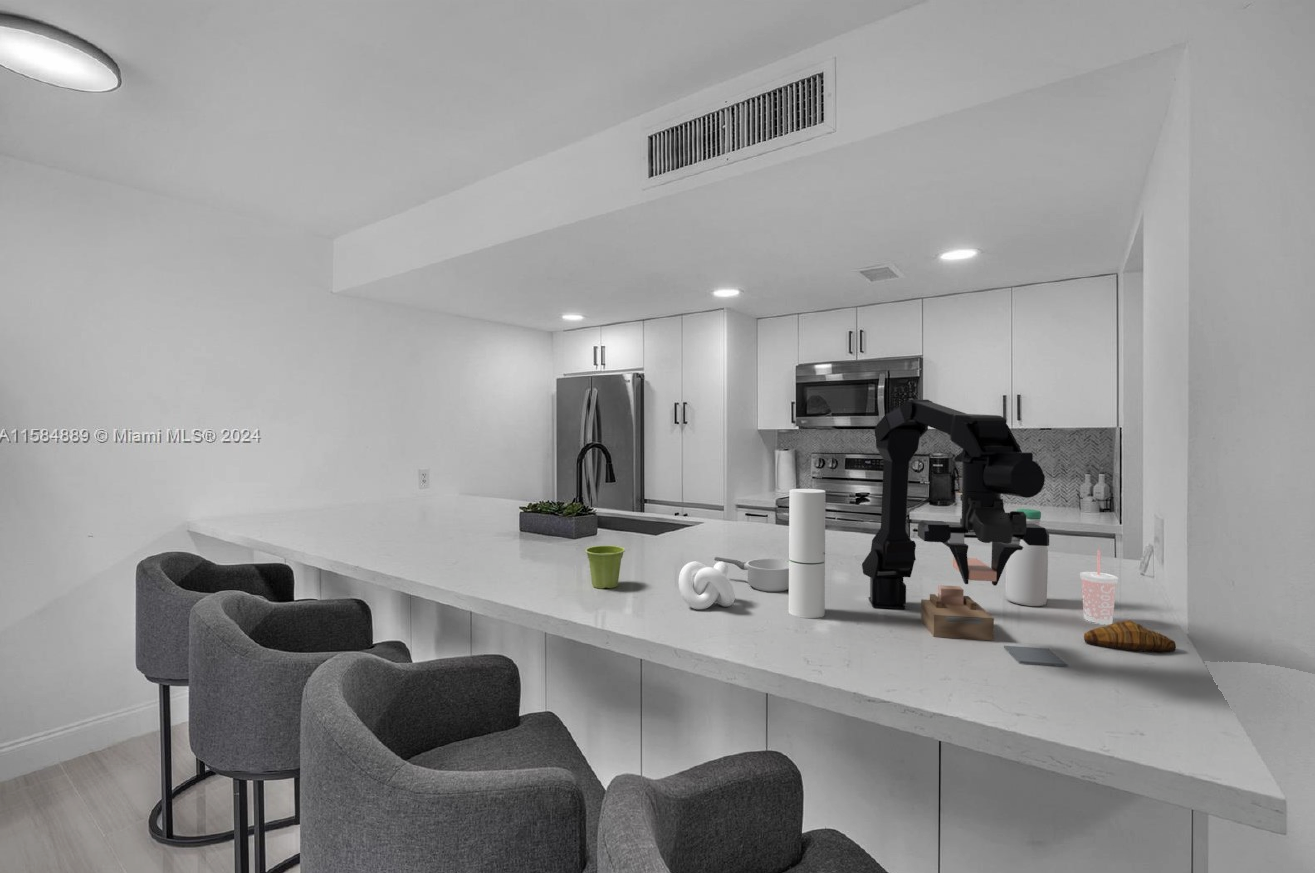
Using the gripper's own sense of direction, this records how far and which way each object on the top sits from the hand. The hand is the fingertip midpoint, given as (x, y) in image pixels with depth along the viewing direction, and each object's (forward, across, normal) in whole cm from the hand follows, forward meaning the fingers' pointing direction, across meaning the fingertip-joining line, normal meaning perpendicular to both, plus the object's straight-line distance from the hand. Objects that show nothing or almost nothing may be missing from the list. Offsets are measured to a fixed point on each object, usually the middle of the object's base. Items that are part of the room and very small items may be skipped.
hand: (980, 584), depth 102 cm
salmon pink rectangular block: (-1, 0, +4) cm, 4 cm away
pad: (+12, +9, +1) cm, 15 cm away
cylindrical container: (+12, -27, +18) cm, 35 cm away
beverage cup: (+12, +29, +24) cm, 40 cm away
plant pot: (+12, -73, +30) cm, 80 cm away
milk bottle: (+12, +20, +35) cm, 42 cm away
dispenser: (+12, 0, +13) cm, 18 cm away
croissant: (+12, +27, +9) cm, 31 cm away
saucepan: (+12, -39, +38) cm, 56 cm away
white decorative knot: (+12, -48, +19) cm, 53 cm away
